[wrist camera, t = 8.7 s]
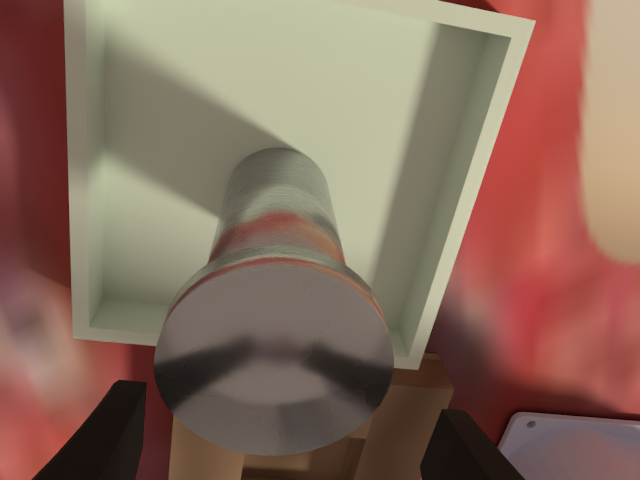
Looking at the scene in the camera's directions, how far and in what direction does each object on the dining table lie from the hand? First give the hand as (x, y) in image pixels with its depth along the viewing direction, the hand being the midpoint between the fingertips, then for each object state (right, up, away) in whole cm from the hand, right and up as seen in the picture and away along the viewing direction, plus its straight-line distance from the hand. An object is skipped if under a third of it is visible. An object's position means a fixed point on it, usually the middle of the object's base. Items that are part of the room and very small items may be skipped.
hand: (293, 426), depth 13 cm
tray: (-1, +7, +8) cm, 11 cm away
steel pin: (-1, +6, +8) cm, 10 cm away
